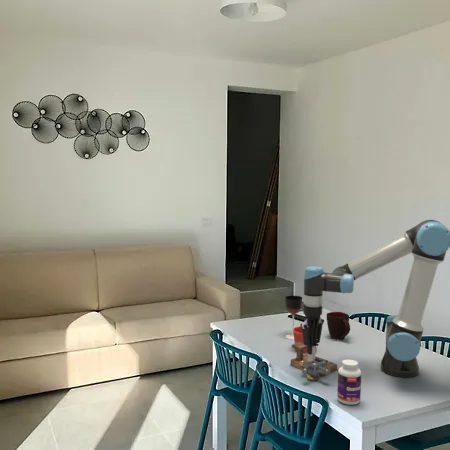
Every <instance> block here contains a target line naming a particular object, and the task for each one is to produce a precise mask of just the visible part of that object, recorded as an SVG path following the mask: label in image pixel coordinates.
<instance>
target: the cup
mask: <svg viewBox="0 0 450 450" xmlns="http://www.w3.org/2000/svg"><path fill="white" fill-rule="evenodd" d="M326 324H327V330H328V334H329V337H330V338H331V339H332V340H335V341H340V340H341V341H342V340H344V339H345V337H347V335H349V333H350V331H351V324H350V316H349V314H348V313H345V312H342V311H331V312H327V313H326Z"/></svg>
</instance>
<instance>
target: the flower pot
mask: <svg viewBox="0 0 450 450" xmlns="http://www.w3.org/2000/svg"><path fill="white" fill-rule="evenodd" d="M293 335H294V339H293V341H294V344H295V343H298V342H300V343H303V344H304V341H303V334H302V328H301V326H294V329H293ZM307 349H308V348H305V349H303V354H304V353H305V354H308V353H307ZM295 350H296V351H297V349H296V348H295Z"/></svg>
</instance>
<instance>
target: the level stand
mask: <svg viewBox="0 0 450 450" xmlns="http://www.w3.org/2000/svg"><path fill="white" fill-rule="evenodd" d="M291 348H293V349H295V350H296V349H297V350H296V357H294V358H292V359H290V366H291V367H293V368H297V369H299V370H301V371H302V370H303V369H304V368H306V367H303V366H301V365H300V361H301V360H304V361H306V362H309V363H310V361H308V353H305V354H304V353H303V349H305V348H308V347H307V346H306V345H304V344H303V343H300V342H298V343H295V342H294V343H293V344H291ZM315 361H316V362H321V361H326V363H327V365H326V366H325V367H324V368H326V369H329V370H330V374H331V373H333V372H335V371H337V370H338V363H335V362H334V361H333V362H332V361H330V360H327V359H324V358H323V357H322V358H321V357H318V356H317V355H315ZM323 376H326V375H325V374H322V373H320V372H319V377H323Z"/></svg>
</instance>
